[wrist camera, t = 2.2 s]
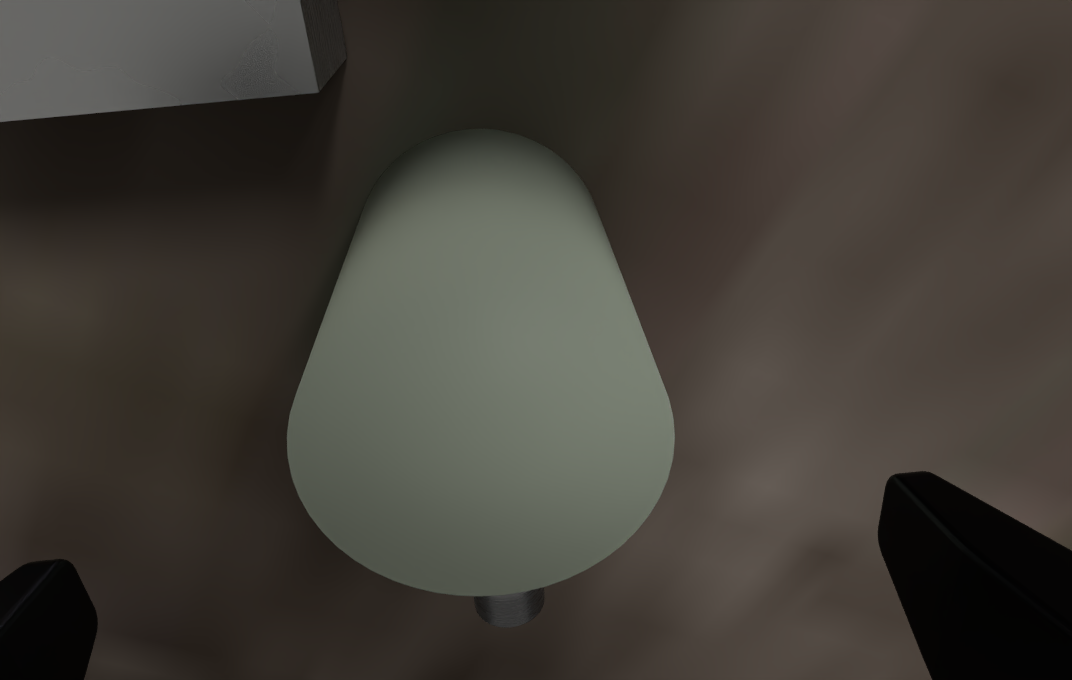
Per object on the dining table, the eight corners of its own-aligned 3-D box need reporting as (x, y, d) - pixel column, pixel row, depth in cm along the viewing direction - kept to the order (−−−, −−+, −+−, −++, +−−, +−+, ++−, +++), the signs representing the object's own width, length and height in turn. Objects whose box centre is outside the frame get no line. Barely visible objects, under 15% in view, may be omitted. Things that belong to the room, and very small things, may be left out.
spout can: (597, 117, 15) (676, 262, 9) (608, 407, 19) (672, 656, 13) (336, 141, 15) (242, 304, 9) (393, 428, 19) (351, 690, 12)
